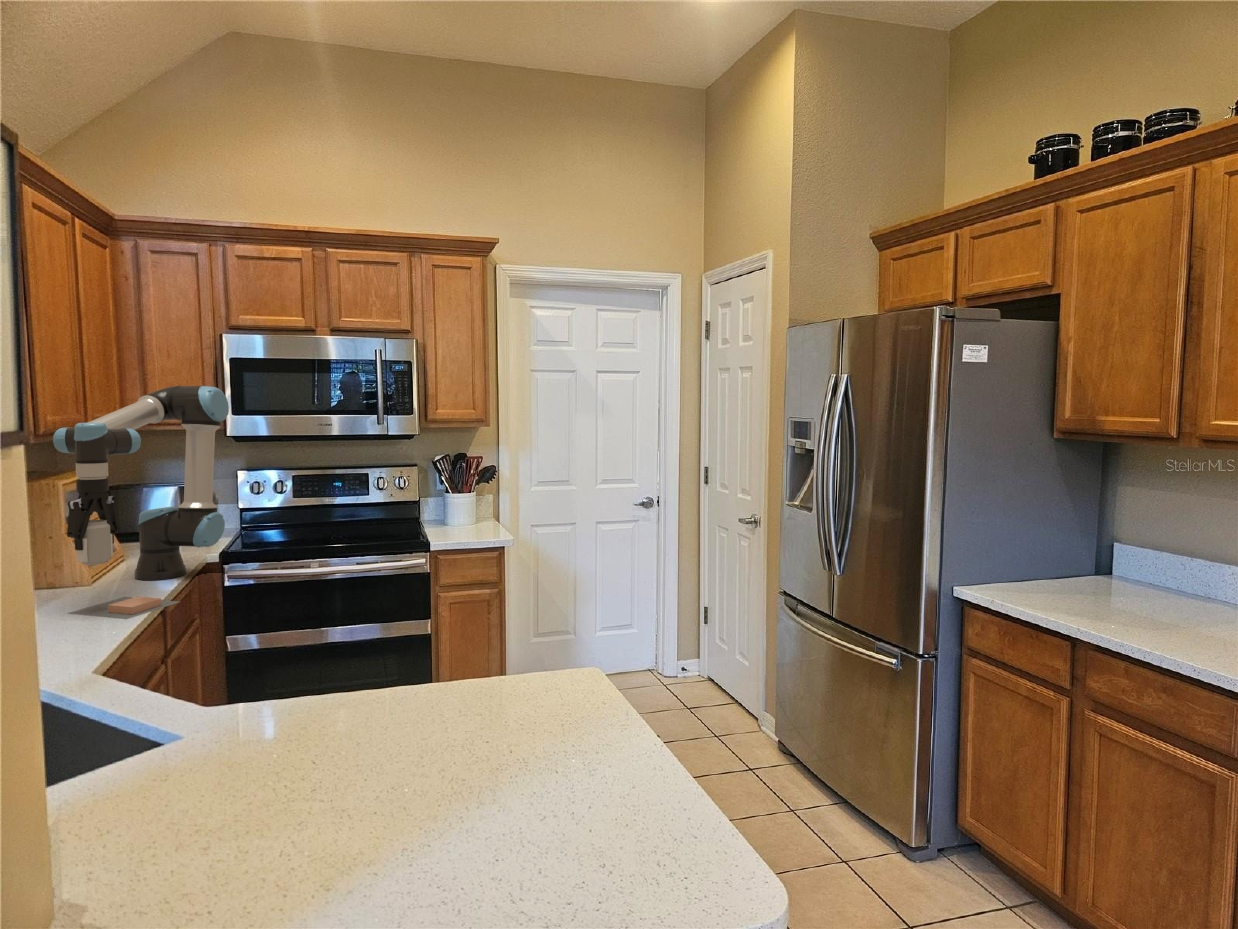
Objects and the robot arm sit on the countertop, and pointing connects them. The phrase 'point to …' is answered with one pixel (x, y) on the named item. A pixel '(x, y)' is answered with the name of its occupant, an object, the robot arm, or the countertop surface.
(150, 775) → the countertop surface
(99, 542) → the can
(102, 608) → the mat
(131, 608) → the tile
